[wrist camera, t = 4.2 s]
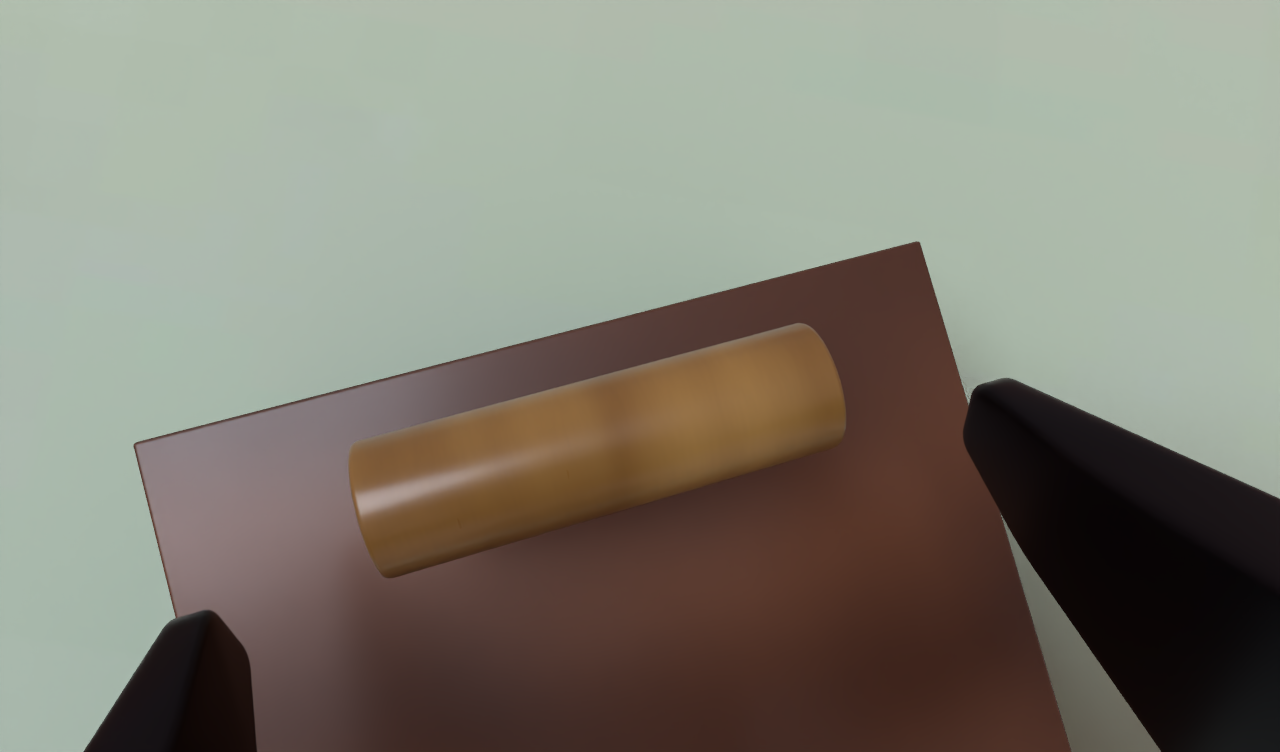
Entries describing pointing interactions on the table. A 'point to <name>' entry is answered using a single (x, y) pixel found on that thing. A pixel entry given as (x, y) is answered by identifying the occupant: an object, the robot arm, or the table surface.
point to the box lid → (625, 540)
